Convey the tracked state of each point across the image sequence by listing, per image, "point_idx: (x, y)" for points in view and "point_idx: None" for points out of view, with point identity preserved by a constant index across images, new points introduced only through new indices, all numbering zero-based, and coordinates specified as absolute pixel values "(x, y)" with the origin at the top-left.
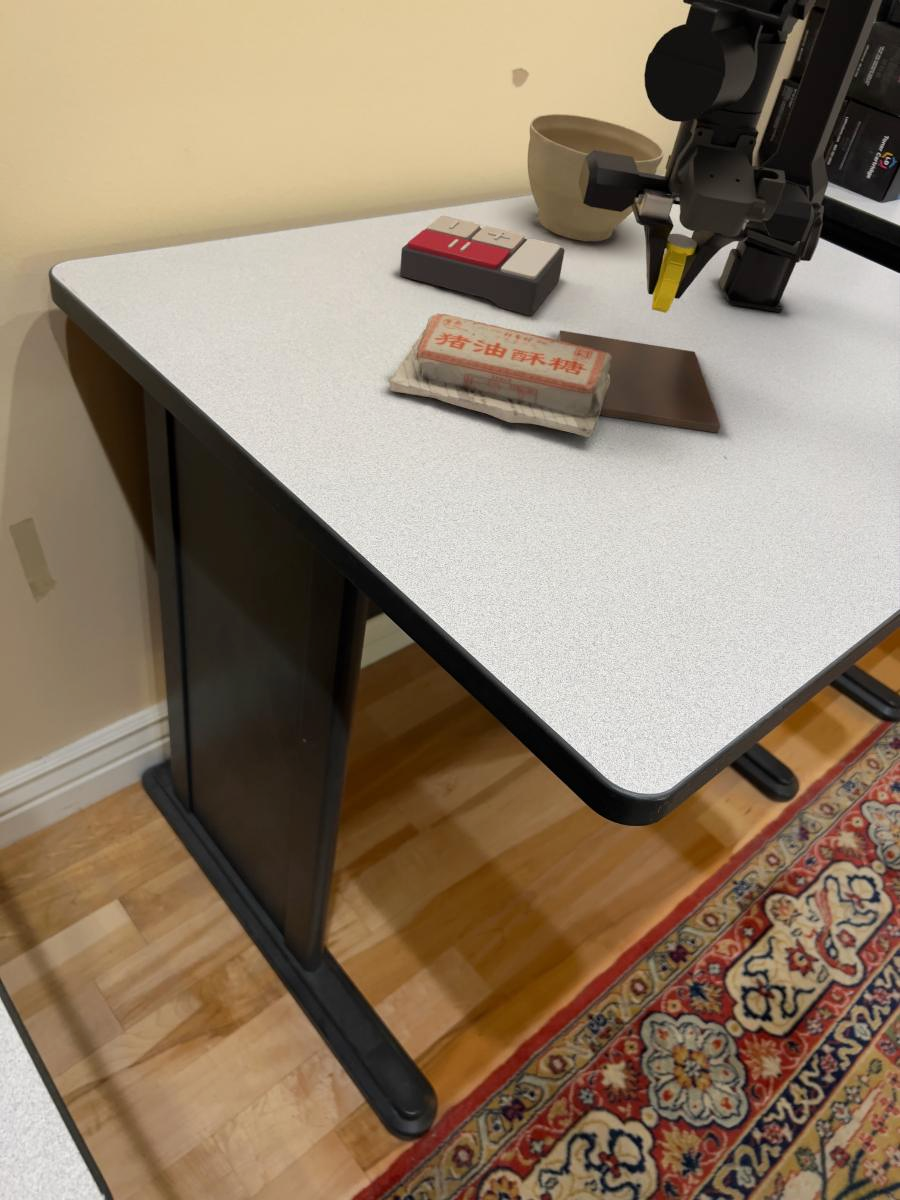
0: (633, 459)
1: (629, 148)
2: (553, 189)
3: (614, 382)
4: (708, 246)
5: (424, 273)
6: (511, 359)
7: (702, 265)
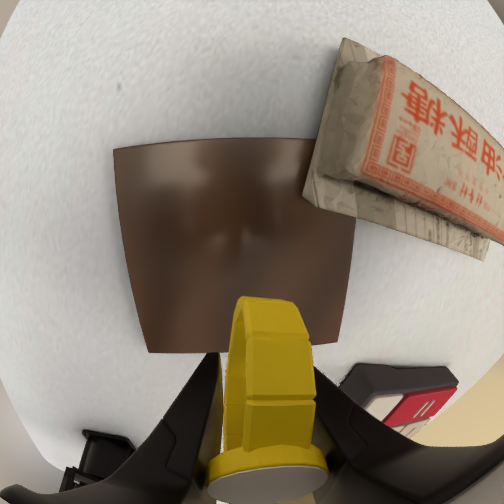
0: (264, 39)
1: None
2: (311, 500)
3: (280, 226)
4: (161, 486)
5: (439, 372)
6: (477, 133)
7: (166, 425)
